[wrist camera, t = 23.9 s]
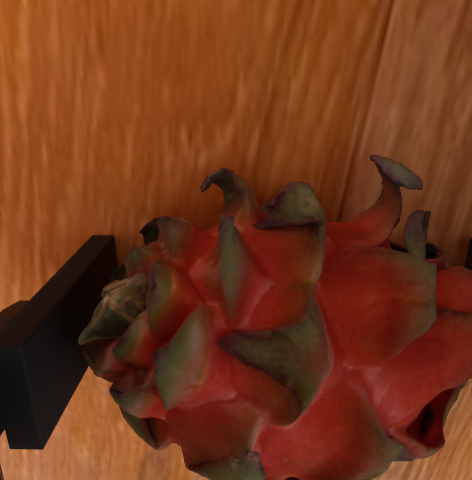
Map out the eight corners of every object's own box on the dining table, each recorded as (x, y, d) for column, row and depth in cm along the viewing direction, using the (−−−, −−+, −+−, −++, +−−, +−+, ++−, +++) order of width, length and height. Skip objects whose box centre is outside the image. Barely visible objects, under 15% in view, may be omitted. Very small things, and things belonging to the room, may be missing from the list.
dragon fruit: (107, 238, 17) (401, 220, 18) (110, 478, 15) (444, 439, 16) (24, 123, 9) (565, 105, 10) (3, 621, 7) (699, 519, 8)
